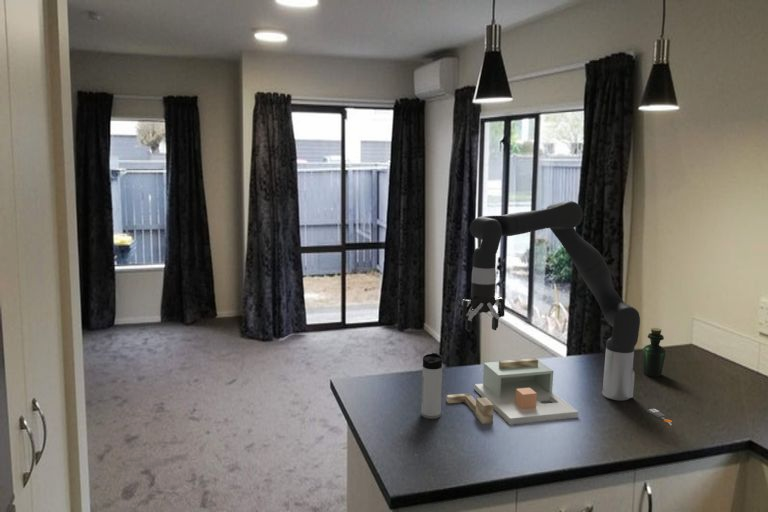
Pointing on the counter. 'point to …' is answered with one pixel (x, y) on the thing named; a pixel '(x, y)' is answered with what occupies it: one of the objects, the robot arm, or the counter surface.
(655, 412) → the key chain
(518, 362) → the stick
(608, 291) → the robot arm
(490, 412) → the crook
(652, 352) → the potion bottle
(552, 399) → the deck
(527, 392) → the cube
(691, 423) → the counter surface
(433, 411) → the travel mug
